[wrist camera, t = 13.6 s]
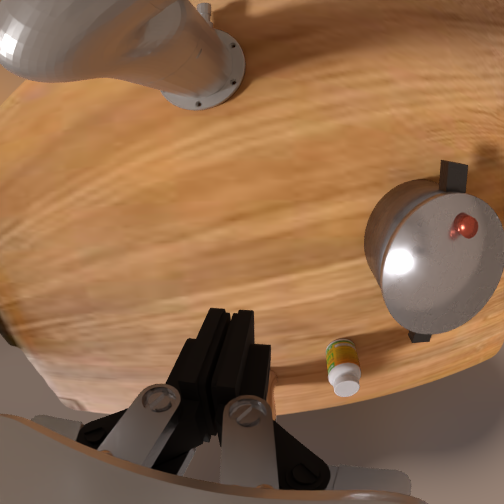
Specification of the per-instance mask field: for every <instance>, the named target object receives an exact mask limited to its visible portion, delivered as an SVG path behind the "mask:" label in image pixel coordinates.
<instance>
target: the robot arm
mask: <svg viewBox="0 0 504 504" xmlns="http://www.w3.org/2000/svg"><path fill="white" fill-rule="evenodd" d="M210 16H211V4H209V3H200V4H198V5H197V10H196V8H195V7H194V6H193V5H192V4H191V3H190V1H189V0H2V1H1V2H0V64H1V65H3V67H4V68H6V69H7V70H8V71H10V72H11V73H13V74H15V75H17V76H19V77H22V78H25V79H28V80H32V81H37V82H46V83H59V82H73V81H80V80H87V79H94V78H114V79H119V80H124V81H128V82H132V83H135V84H139V85H143V86H147V87H151V88H154V89H158V90H160V91H161V93H162V95H163V96H164V97H165V98H166V99H167V100H168V101H169V102H171V103H172V104H173V105H175V106H178V107H180V108H183V109H187V110H205V109H210V108H213V107H215V106H218V105H220V104H221V103H223V102H224V101H226V100H227V99H228V98H230V97H231V96H232V95H233V94H234V93H235V91H236V90H237V89H238V88H239V86H240V84H241V82H242V80H243V77H244V73H245V65H246V63H245V56H244V53H243V51H242V49H241V47H240V45H239V44H238V42H237V41H236V40H235V39H234V38H233V37H232V36H230V35H229V34H228V33H226V32H224V31H222V30H218V29H214V28H213V23H212V22H210ZM233 46H235V48H232V47H233ZM233 82H236V84H235V85H233ZM200 103H201V104H202V105H201V106H199V104H200ZM270 361H271V345H263V344H254V311H252V310H239V311H238V313H233V316H232V319H231V318H230V313H226V312H225V309H219V308H210V309H209V311H208V314H207V316H206V318H205V320H204V322H203V325H202V327H201V329H200V331H199V333H198V336H197V338H196V339H191V338H189V339H187V341H186V342H185V344H184V346H183V348H182V350H181V352H180V355H179V357H178V359H177V361H176V363H175V365H174V367H173V369H172V371H171V373H170V375H169V377H168V379H167V382H166V384H154V385H151V386H148V387H147V388H145V389H144V390H143V391H142V392H141V393H140V394H139V395H138V396H137V398H136V399H135V400H134V402H133V403H132V404H131V406H130V407H129V408H128V409H125V410H122V411H120V412H117V413H114V414H111V415H109V416H106V417H103V418H100V419H97V420H95V421H91V422H89V423H87V424H85V425H83V423H82V422H79V421H73V420H67V419H62V418H57V417H52V416H47V415H38V416H35V417H34V418H32V419H31V420H28V419H25V418H23V417H19V416H15V415H9V414H0V504H428V503H426V502H425V501H423V500H421V499H419V498H415V497H413V496H410V494H411V480H410V479H409V477H408V475H407V474H405V473H404V472H402V471H398V470H389V469H377V468H365V467H356V466H349V465H341V464H340V465H339V467H338V466H332V465H327V464H326V463H325V462H324V461H323V460H322V459H320V458H319V457H318V456H316V455H315V454H314V453H313V452H311V451H310V450H309V449H307V448H306V447H305V446H304V445H303V444H301V443H300V442H299V441H298V440H297V439H295V438H294V437H293V436H292V435H290V434H289V433H288V432H287V431H286V430H285V429H283V428H282V427H281V426H280V425H279V424H277V423H276V422H275V421H274V420H273V417H272V410H271V407H270V405H269V404H268V403H267V393H268V385H269V376H270ZM217 433H218V437H219V442H220V447H221V466H220V467H221V468H220V483H214V482H207V481H202V480H197V479H192V478H187V477H183V475H184V473H185V471H186V469H187V467H188V465H189V463H190V461H191V460H192V458H193V456H194V454H195V451H196V447H197V446H199V445H201V444H203V441H205V442H210V439H211V435H215V436H216V434H217Z"/></svg>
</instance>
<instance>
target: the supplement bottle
mask: <svg viewBox="0 0 504 504" xmlns="http://www.w3.org/2000/svg"><path fill="white" fill-rule="evenodd" d="M326 359H327V369H328V378H329V382H330V383H331V385H333V386H334V392H335V394H336V395H338V396H341V397H348V396H351V395H353V394H355V393H356V392H357V391H358V390H359V379H360V377H361V369H360V365H359V360H358V356H357V351H356V347H355V345H354V343H353V342H352V341H350V340H348V339H338V340H335V341H333V342H331V343H330V344H329V345H328V347H327V349H326Z"/></svg>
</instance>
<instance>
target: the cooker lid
mask: <svg viewBox="0 0 504 504" xmlns="http://www.w3.org/2000/svg"><path fill="white" fill-rule="evenodd" d="M503 268H504V230H503V227H502V224H501V222H500V220H499V218H498V216H497V214H496V213H495V212H494V210H493V209H492V208H491V207H490V206H489V205H488V204H487V203H486V202H484V201H483V200H481V199H479V198H477V197H475V196H472V195H470V194H467V193H463V192H444V193H441V194H437V195H434V196H432V197H430V198H428V199H426V200H424V201H423V202H421V203H420V204H418V205H417V206H416V207H414V208H413V209H412V210H411V211H410V212H409V213H408V214H407V215H406V216H405V217H404V218H403V219H402V221H401V222H400V223H399V225H398V226H397V227H396V229H395V231H394V232H393V234H392V235H391V237H390V240H389V242H388V244H387V246H386V249H385V252H384V255H383V259H382V263H381V271H380V285H381V291H382V295H383V298H384V301H385V303H386V306H387V308H388V310H389V312H390V314H391V315H392V316H393V318H394V319H395V320H396V321H397V322H398V323H399V324H400V325H401V326H403V327H404V328H406V329H408V330H410V331H412V332H416V333H420V334H439V333H443V332H447V331H450V330H452V329H455V328H457V327H459V326H461V325H463V324H464V323H466V322H467V321H469V320H470V319H471V318H472V317H474V316H475V315H476V314H477V313H478V312H479V311H480V310H481V309H482V308H483V307H484V306H485V304H486V303H487V302H488V300H489V299H490V298H491V296H492V295H493V293H494V291H495V289H496V287H497V285H498V283H499V281H500V278H501V275H502V272H503Z"/></svg>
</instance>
